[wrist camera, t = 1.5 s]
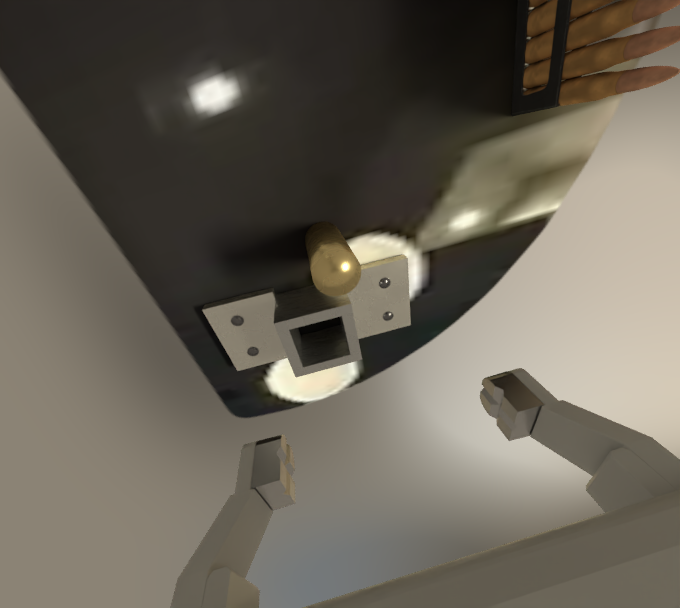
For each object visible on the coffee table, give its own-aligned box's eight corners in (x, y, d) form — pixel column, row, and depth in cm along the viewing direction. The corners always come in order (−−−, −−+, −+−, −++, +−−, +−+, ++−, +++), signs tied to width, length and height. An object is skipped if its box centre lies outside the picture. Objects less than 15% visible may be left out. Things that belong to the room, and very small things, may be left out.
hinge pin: (300, 226, 27) (306, 257, 20) (337, 217, 27) (357, 245, 20) (310, 261, 29) (318, 301, 22) (344, 252, 30) (364, 289, 22)
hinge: (204, 304, 30) (188, 336, 25) (403, 254, 31) (426, 275, 26) (239, 364, 35) (231, 401, 30) (407, 320, 36) (426, 348, 31)
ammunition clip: (528, 109, 25) (687, 86, 15) (510, 116, 25) (657, 97, 15) (542, -59, 20) (813, -274, 10) (519, -50, 20) (766, -256, 10)
